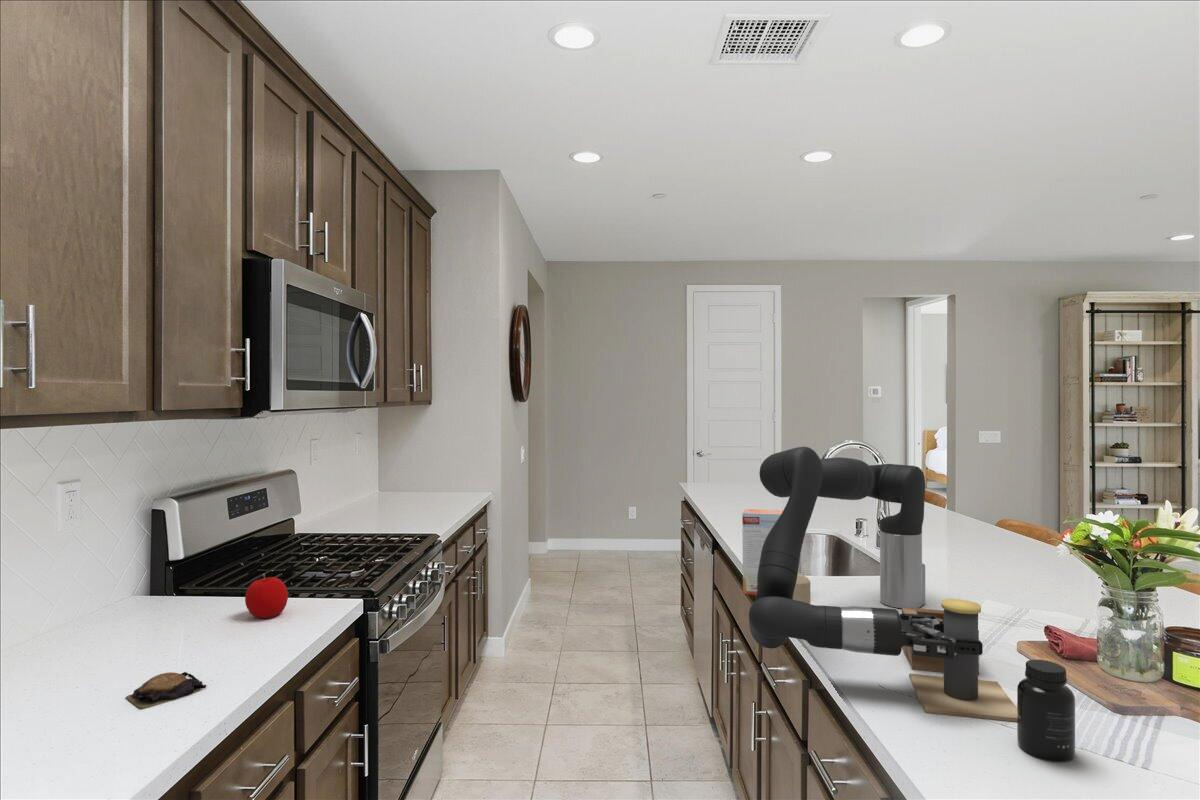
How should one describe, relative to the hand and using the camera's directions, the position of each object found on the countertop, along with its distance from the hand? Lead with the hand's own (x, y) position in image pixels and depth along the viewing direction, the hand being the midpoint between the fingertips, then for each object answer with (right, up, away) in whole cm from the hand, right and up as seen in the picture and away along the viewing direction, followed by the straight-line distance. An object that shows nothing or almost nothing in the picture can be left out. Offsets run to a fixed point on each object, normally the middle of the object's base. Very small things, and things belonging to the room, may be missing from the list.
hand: (974, 638), depth 111 cm
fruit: (-138, -11, +45) cm, 146 cm away
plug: (-2, -9, +1) cm, 10 cm away
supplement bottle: (+1, -10, -16) cm, 19 cm away
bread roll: (-135, -12, +4) cm, 136 cm away
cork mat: (-2, -10, 0) cm, 10 cm away
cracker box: (-18, -10, +60) cm, 63 cm away
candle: (-17, -10, +41) cm, 46 cm away
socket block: (+2, -10, +16) cm, 19 cm away
